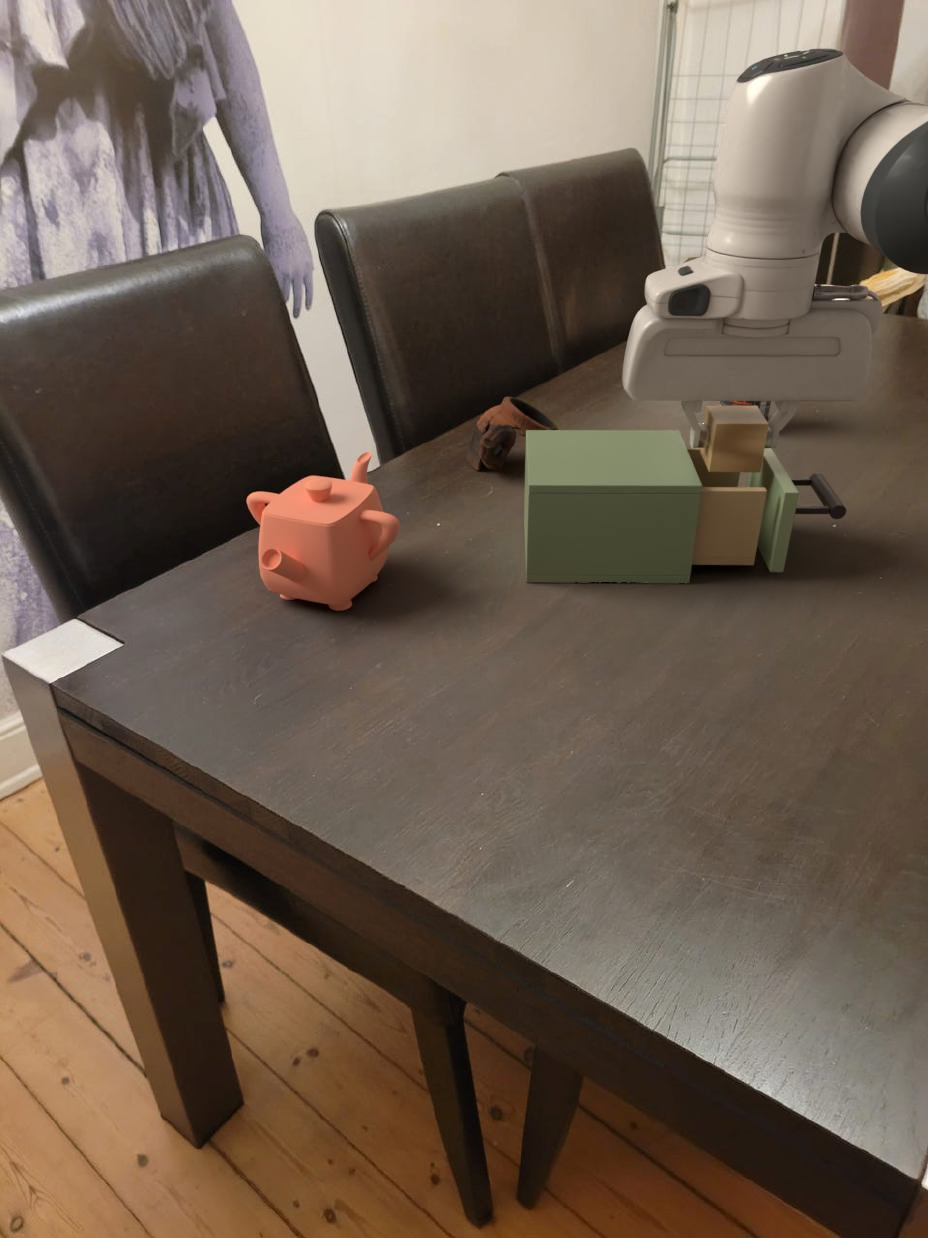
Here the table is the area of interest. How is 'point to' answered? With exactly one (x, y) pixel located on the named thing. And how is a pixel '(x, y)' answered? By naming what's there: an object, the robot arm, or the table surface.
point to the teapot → (323, 537)
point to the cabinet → (609, 506)
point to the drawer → (753, 512)
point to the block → (735, 439)
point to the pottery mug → (503, 431)
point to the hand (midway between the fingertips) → (731, 445)
